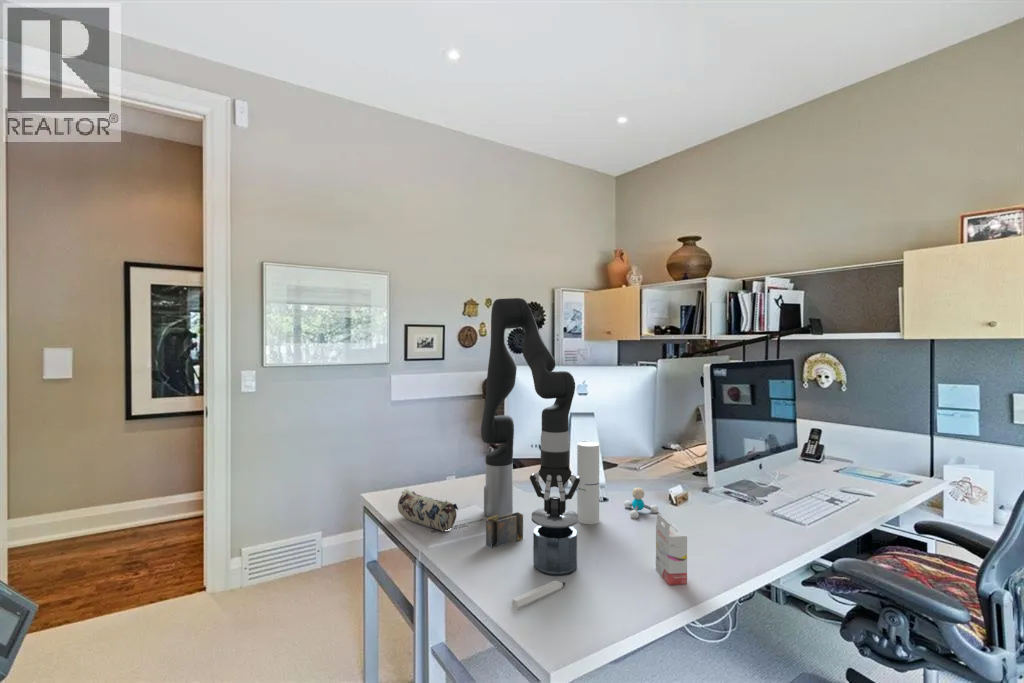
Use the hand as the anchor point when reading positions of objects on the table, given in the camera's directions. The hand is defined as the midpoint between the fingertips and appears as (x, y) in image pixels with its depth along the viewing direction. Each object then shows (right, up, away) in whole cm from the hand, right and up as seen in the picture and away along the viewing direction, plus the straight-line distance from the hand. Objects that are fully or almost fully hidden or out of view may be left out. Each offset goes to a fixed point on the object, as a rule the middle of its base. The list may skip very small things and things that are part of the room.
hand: (555, 513), depth 126 cm
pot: (0, -14, 0) cm, 14 cm away
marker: (-4, -14, -15) cm, 21 cm away
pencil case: (-39, -14, +29) cm, 51 cm away
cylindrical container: (+14, -14, +32) cm, 37 cm away
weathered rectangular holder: (-13, -14, +15) cm, 25 cm away
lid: (0, -2, 0) cm, 2 cm away
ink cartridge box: (+28, -14, -6) cm, 32 cm away
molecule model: (+33, -14, +40) cm, 53 cm away
